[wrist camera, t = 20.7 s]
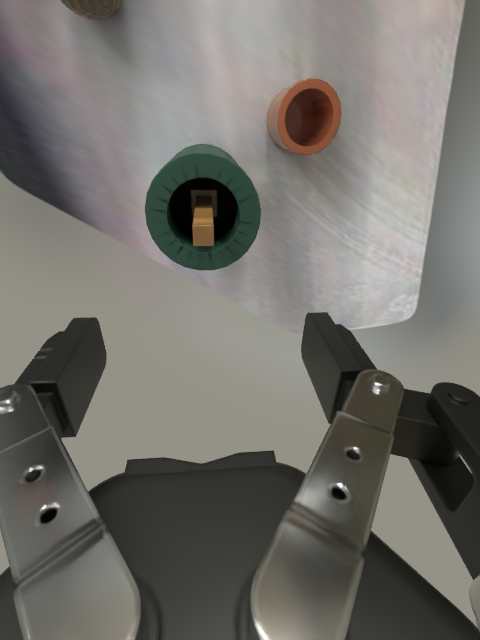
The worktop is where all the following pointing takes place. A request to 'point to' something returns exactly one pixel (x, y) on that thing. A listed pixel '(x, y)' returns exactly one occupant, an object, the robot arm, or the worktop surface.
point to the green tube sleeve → (176, 212)
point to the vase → (93, 8)
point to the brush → (203, 211)
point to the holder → (304, 117)
